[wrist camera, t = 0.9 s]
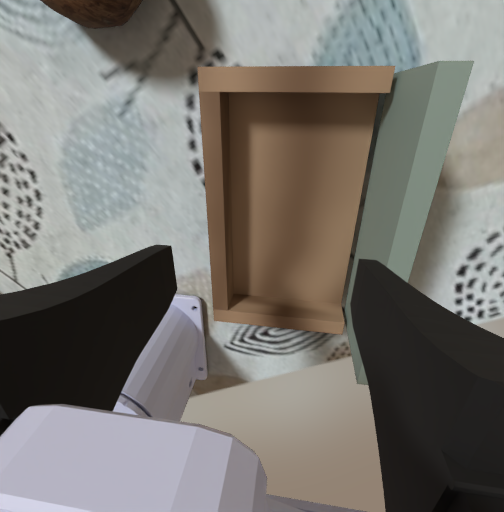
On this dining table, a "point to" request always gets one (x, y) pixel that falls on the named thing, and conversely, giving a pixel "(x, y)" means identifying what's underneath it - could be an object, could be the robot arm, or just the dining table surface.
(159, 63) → the dining table surface
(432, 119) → the panel
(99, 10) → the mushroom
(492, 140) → the dining table surface
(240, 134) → the crate
